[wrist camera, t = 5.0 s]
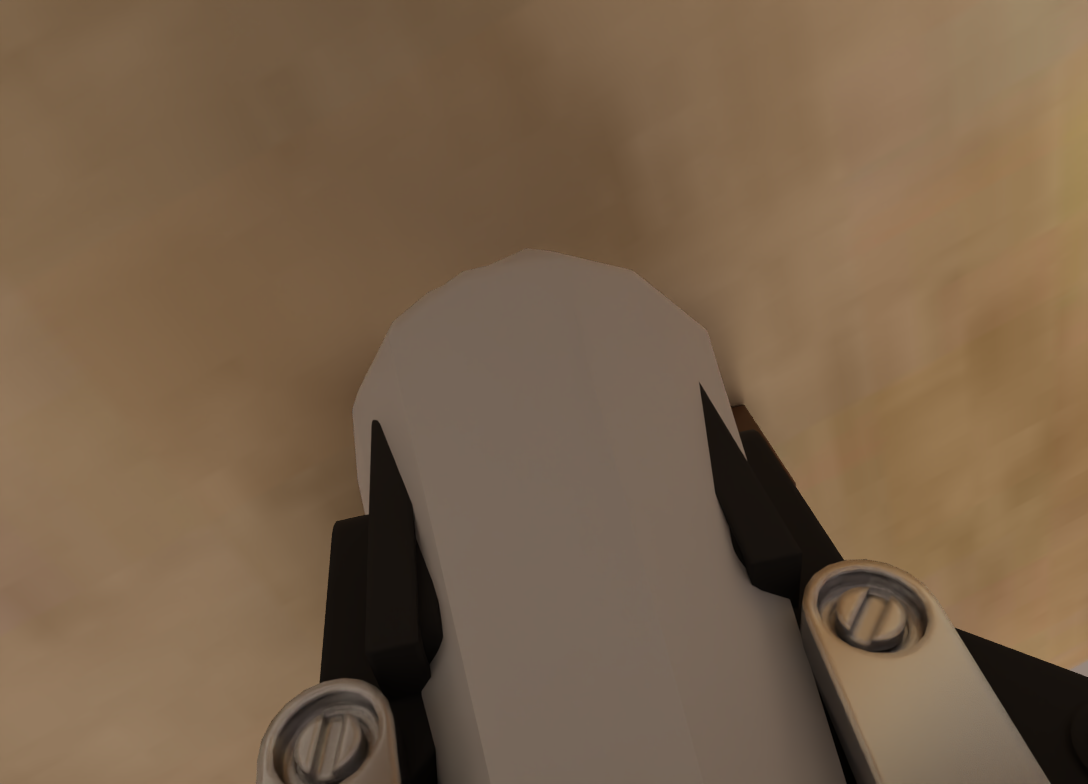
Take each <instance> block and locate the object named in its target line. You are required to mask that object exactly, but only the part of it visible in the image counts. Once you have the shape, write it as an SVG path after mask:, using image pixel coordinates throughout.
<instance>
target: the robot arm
mask: <svg viewBox="0 0 1088 784" xmlns="http://www.w3.org/2000/svg"><path fill="white" fill-rule="evenodd" d="M699 385H700V392H701V399H702V406H703V413H704V420H705V427H706V434H707V440H708V447H709V454H710V461H711V468H712V475H713V482H714V489H715V494H716V496H717V499H718V501H719V504H720V506H721V509H722V511H723V514H724V516H725V519H726V521H727V523H728V525H729V528H730V535H731V541H732V545H733V548H734V551H735V553H736V555H737V557H738V559H739V560H740V561H741V563H742V564H743V566H744V567H745V568H746V572H747V574H748V577H749V579H750V582H751V584H752V585H753V586H755V587H756V588H758V589H760V590H761V591H764V592H768V593H771V594H774V595H778V596H781V597H784V598H787V599H790V601H791V605H792V608H793V611H794V614H795V618H796V621H797V624H798V627H799V631H800V634H801V638H802V643H803V648H804V650H805V653H806V656H807V659H808V661H809V664H810V667H811V670H812V673H813V676H814V679H815V683H816V686H817V689H818V692H819V696H820V699H821V702H822V705H823V709H824V712H825V715H826V718H827V722H828V725H829V728H830V731H831V735H832V738H833V741H834V744H835V748H836V751H837V754H838V757H839V761H840V764H841V767H842V770H843V774H844V777H845V780H846V783H847V784H1088V677H1086V676H1083V675H1081V674H1078V673H1075V672H1073V671H1070V670H1067V669H1065V668H1062V667H1059V666H1056V665H1054V664H1051V663H1048V662H1046V661H1043V660H1040V659H1038V658H1035V657H1032V656H1030V655H1027V654H1024V653H1021V652H1019V651H1016V650H1013V649H1011V648H1008V647H1005V646H1003V645H1000V644H997V643H995V642H992V641H989V640H987V639H984V638H981V637H978V636H976V635H973V634H970V633H968V632H965V631H962V630H960V629H957V628H954V626H953V625H952V623H951V621H950V620H949V618H948V617H947V615H946V613H945V612H944V610H943V608H942V607H941V605H940V604H939V602H938V600H937V599H936V598H935V596H934V595H933V594H932V593H931V592H930V591H929V589H928V588H927V587H926V586H925V585H924V584H923V583H922V582H921V581H919V580H918V579H916V578H915V577H913V576H912V575H911V574H909V573H908V572H906V571H904V570H901V569H899V568H897V567H894V566H892V565H889V564H887V563H882V562H877V561H872V560H866V559H863V560H844V559H843V558H842V556H841V555H840V553H839V552H838V550H837V549H836V547H835V546H834V544H833V543H832V541H831V540H830V538H829V537H828V535H827V534H826V532H825V531H824V529H823V528H822V526H821V524H820V523H819V521H818V520H817V518H816V517H815V515H814V514H813V512H812V511H811V509H810V508H809V506H808V505H807V503H806V502H805V500H804V499H803V497H802V496H801V494H800V493H799V491H798V489H797V488H796V486H795V485H794V483H793V482H792V480H791V479H790V477H789V476H788V474H787V473H786V471H785V470H784V468H783V467H782V465H781V464H780V462H779V461H778V459H777V458H776V456H775V454H774V453H773V451H772V450H771V448H770V447H769V445H768V444H767V442H766V441H765V439H764V438H763V437H762V435H761V434H760V433H759V432H758V431H756V430H754V429H751V430H746V431H742V432H739V436H740V439H741V442H742V445H743V449H744V452H745V455H746V458H747V460H746V458H745V456H744V455H743V453H742V452H741V450H740V448H739V447H738V445H737V443H736V442H735V440H734V438H733V437H732V435H731V433H730V432H729V430H728V428H727V427H726V425H725V423H724V422H723V420H722V418H721V417H720V415H719V413H718V412H717V410H716V408H715V407H714V405H713V404H712V402H711V400H710V399H709V397H708V395H707V394H706V392H705V390H704V389H703V387H702V385H701V384H700V382H699ZM442 639H443V631H442V623H441V615H440V608H439V602H438V598H437V595H436V591H435V588H434V584H433V581H432V579H431V576H430V573H429V571H428V568H427V566H426V563H425V560H424V558H423V555H422V553H421V550H420V547H419V545H418V542H417V540H416V534H415V523H414V514H413V505H412V502H411V500H410V497H409V495H408V492H407V490H406V487H405V485H404V482H403V480H402V477H401V475H400V472H399V470H398V467H397V465H396V462H395V460H394V457H393V455H392V452H391V450H390V447H389V445H388V442H387V440H386V437H385V435H384V432H383V430H382V427H381V425H380V423H379V422H378V420H373V421H372V425H371V456H370V490H369V514H367V515H363V516H358V517H354V518H349V519H345V520H340V521H336V523H335V524H334V527H333V532H332V542H331V554H330V566H329V578H328V590H327V602H326V614H325V626H324V638H323V650H322V662H321V674H320V683H319V684H317V685H315V686H313V687H310V688H308V689H306V690H304V691H303V692H301V693H300V694H299V695H297V696H296V697H295V698H293V699H292V700H291V701H289V702H288V703H287V704H286V705H285V706H284V707H283V708H282V709H281V711H280V712H279V713H278V714H277V715H276V716H275V717H274V719H273V720H272V721H271V723H270V725H269V727H268V729H267V731H266V733H265V735H264V737H263V738H262V741H261V746H260V750H259V755H258V760H257V780H256V784H437V783H438V781H437V766H436V750H435V745H434V741H433V737H432V733H431V729H430V726H429V722H428V718H427V714H426V710H425V706H424V702H423V699H422V690H423V688H424V687H425V685H426V684H427V683H428V681H429V680H430V678H431V670H430V663H431V662H432V660H433V659H434V657H435V656H436V654H437V652H438V650H439V648H440V645H441V642H442Z"/></svg>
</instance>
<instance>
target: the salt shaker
mask: <svg viewBox="0 0 1088 784" xmlns="http://www.w3.org/2000/svg"><path fill="white" fill-rule="evenodd" d="M699 382H700V384H701V385H702V387H703V389H704V390H705V392H706V394H707V395H708V397H709V399H710V400H711V402H712V404H713V405H714V407H715V408H716V410H717V412H718V413H719V415H720V417H721V418H722V420H723V422H724V423H725V425H726V427H727V428H728V430H729V432H730V433H731V435H732V437H733V438H734V440H735V442H736V443H737V445H738V447H739V448H740V450H741V452H742V453H743V455H744V456H745V458H746V455H745V452H744V449H743V445H742V442H741V439H740V436H739V432H738V429H737V426H736V423H735V419H734V416H733V413H732V410H731V406H730V403H729V400H728V397H727V393H726V390H725V387H724V384H723V380H722V377H721V374H720V371H719V367H718V364H717V361H716V358H715V354H714V351H713V348H712V345H711V341H710V338H709V335H708V332H707V330H706V329H705V328H704V327H702V326H701V325H700V324H699V323H698V322H696V321H695V320H694V319H693V318H691V317H690V316H689V315H688V314H686V313H685V312H684V311H683V310H682V309H680V308H679V307H678V306H677V305H675V304H674V303H673V302H672V301H670V300H669V299H668V298H667V297H665V296H664V295H663V294H662V293H660V292H659V291H658V290H657V289H655V288H654V287H653V286H652V285H650V284H649V283H648V282H647V281H645V280H644V279H643V278H642V277H640V276H639V275H638V274H637V273H635V272H634V271H633V270H630V269H625V268H621V267H617V266H613V265H608V264H604V263H600V262H596V261H591V260H587V259H583V258H579V257H574V256H570V255H566V254H562V253H557V252H553V251H546V250H537V249H529V248H526V249H524V250H521V251H519V252H517V253H515V254H512V255H510V256H508V257H506V258H504V259H501V260H499V261H497V262H495V263H492V264H490V265H488V266H484V267H480V268H475V269H471V270H467V271H462V272H461V273H460V274H458V275H457V276H455V277H454V278H453V279H451V280H450V281H448V282H447V283H446V284H444V285H443V286H441V287H439V288H436V289H434V290H432V291H430V292H428V293H426V294H425V295H424V296H423V297H422V298H420V299H419V300H418V301H417V302H416V303H415V304H413V305H412V306H411V307H410V308H409V309H407V310H406V311H405V312H404V313H403V314H401V315H400V316H399V317H398V318H397V319H395V320H394V321H393V322H392V324H391V326H390V328H389V330H388V332H387V334H386V336H385V338H384V340H383V342H382V344H381V346H380V348H379V350H378V352H377V354H376V356H375V358H374V360H373V362H372V364H371V366H370V368H369V370H368V372H367V374H366V376H365V378H364V380H363V382H362V384H361V386H360V388H359V390H358V393H357V396H356V399H355V403H354V406H353V409H352V414H353V426H354V439H355V452H356V464H357V477H358V483H359V488H360V493H361V498H362V502H363V507H364V512H365V515H367V514H369V490H370V456H371V425H372V421H373V420H378V422H379V423H380V425H381V427H382V430H383V432H384V435H385V437H386V440H387V442H388V445H389V447H390V450H391V452H392V455H393V457H394V460H395V462H396V465H397V467H398V470H399V472H400V475H401V477H402V480H403V482H404V485H405V487H406V490H407V492H408V495H409V497H410V500H411V502H412V505H413V514H414V523H415V534H416V540H417V542H418V545H419V547H420V550H421V553H422V555H423V558H424V560H425V563H426V566H427V568H428V571H429V573H430V576H431V579H432V581H433V584H434V588H435V591H436V595H437V598H438V602H439V608H440V615H441V623H442V631H443V639H442V642H441V645H440V648H439V650H438V652H437V654H436V656H435V657H434V659H433V660H432V662H431V663H430V670H431V678H430V680H429V681H428V683H427V684H426V685H425V687H424V688H423V690H422V699H423V702H424V706H425V710H426V714H427V718H428V722H429V726H430V729H431V733H432V737H433V741H434V745H435V750H436V766H437V781H438V783H437V784H847V783H846V780H845V777H844V774H843V770H842V767H841V764H840V761H839V757H838V754H837V751H836V748H835V744H834V741H833V738H832V735H831V731H830V728H829V725H828V722H827V718H826V715H825V712H824V709H823V705H822V702H821V699H820V696H819V692H818V689H817V686H816V683H815V679H814V676H813V673H812V670H811V667H810V664H809V661H808V659H807V656H806V653H805V650H804V648H803V643H802V638H801V634H800V631H799V627H798V624H797V621H796V618H795V614H794V611H793V608H792V605H791V601H790V599H787V598H784V597H781V596H778V595H774V594H771V593H768V592H764V591H761V590H760V589H758V588H756V587H755V586H753V585H752V584H751V582H750V579H749V577H748V574H747V572H746V568H745V567H744V566H743V564H742V563H741V561H740V560H739V559H738V557H737V555H736V553H735V551H734V548H733V545H732V541H731V535H730V528H729V525H728V523H727V521H726V519H725V516H724V514H723V511H722V509H721V506H720V504H719V501H718V499H717V496H716V494H715V489H714V482H713V475H712V468H711V461H710V454H709V447H708V440H707V434H706V427H705V420H704V413H703V406H702V399H701V392H700V385H699ZM746 460H747V458H746Z"/></svg>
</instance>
